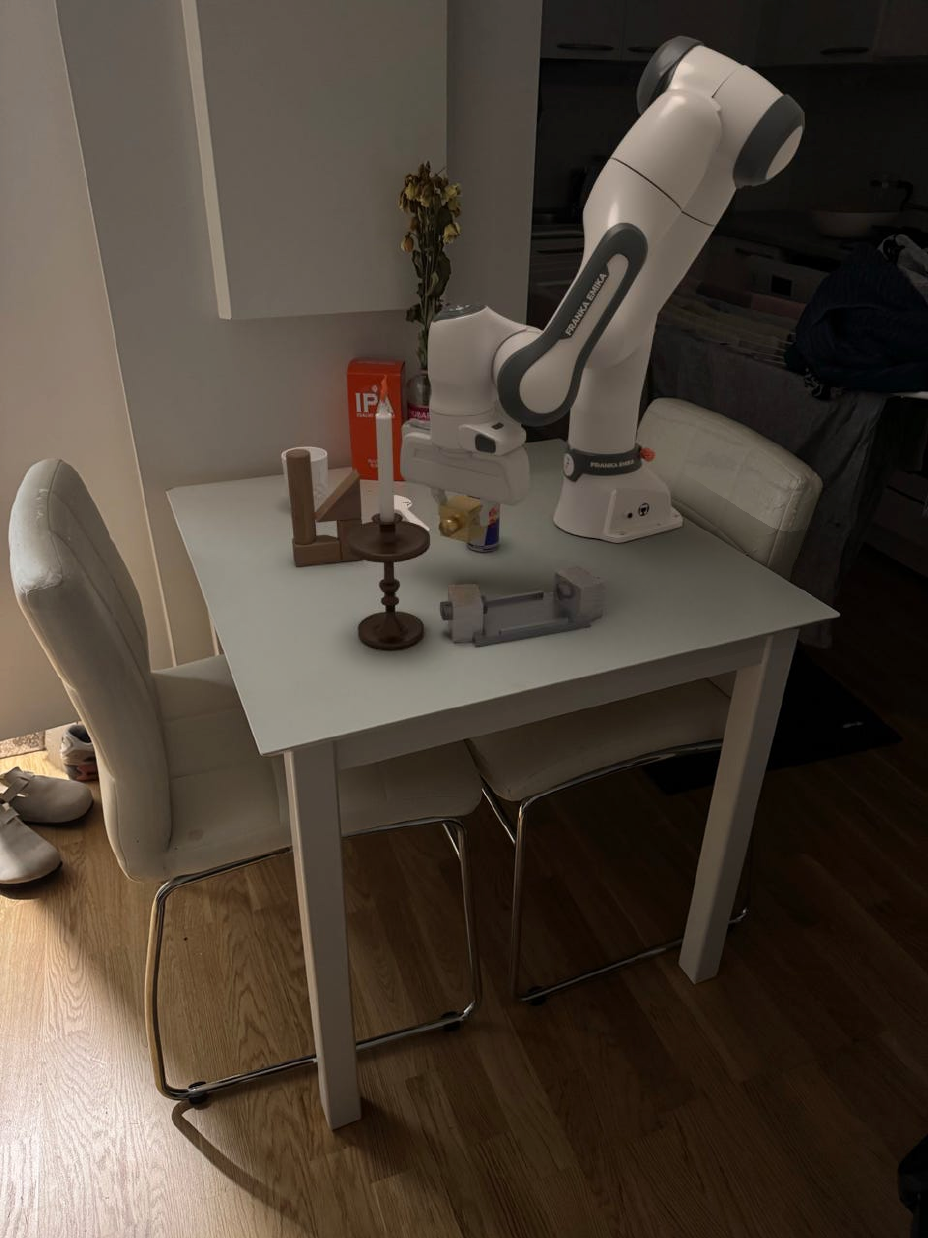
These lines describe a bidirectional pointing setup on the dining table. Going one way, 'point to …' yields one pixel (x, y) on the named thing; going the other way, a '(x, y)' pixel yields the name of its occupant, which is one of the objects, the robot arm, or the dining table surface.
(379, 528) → the candlestick
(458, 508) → the block
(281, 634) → the dining table surface
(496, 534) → the energy drink
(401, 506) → the spoon
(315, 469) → the white cup
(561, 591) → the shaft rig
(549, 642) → the dining table surface
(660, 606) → the dining table surface
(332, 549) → the wooden toy blocks
